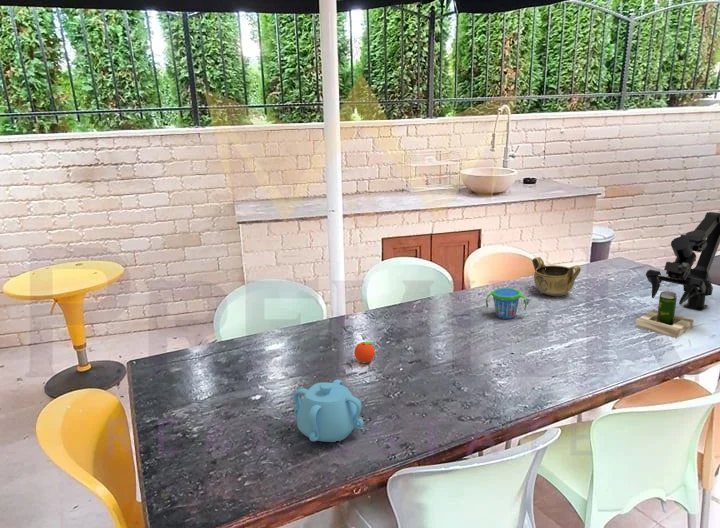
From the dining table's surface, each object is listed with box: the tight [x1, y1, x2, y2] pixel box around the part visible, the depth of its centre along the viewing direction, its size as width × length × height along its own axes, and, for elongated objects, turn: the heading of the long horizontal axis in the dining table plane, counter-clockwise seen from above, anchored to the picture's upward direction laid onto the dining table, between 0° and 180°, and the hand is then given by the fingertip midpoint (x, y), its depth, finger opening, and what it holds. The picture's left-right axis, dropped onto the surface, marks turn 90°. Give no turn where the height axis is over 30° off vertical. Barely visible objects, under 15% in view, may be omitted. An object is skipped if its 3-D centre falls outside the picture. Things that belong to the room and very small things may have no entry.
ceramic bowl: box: [532, 256, 582, 297], centre depth 226 cm, size 22×17×15 cm
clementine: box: [353, 341, 377, 363], centre depth 174 cm, size 8×7×7 cm
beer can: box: [657, 290, 678, 326], centre depth 188 cm, size 5×5×12 cm
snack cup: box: [485, 287, 528, 320], centre depth 205 cm, size 16×10×10 cm
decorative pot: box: [293, 379, 365, 443], centre depth 136 cm, size 16×16×14 cm
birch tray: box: [635, 309, 695, 339], centre depth 190 cm, size 14×14×4 cm
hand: (665, 300), depth 186 cm, fingers open, 9 cm apart
